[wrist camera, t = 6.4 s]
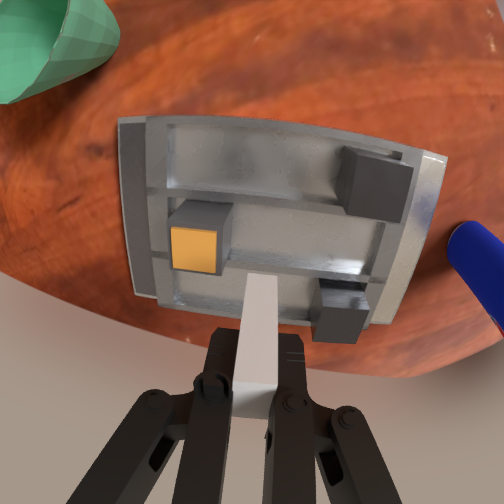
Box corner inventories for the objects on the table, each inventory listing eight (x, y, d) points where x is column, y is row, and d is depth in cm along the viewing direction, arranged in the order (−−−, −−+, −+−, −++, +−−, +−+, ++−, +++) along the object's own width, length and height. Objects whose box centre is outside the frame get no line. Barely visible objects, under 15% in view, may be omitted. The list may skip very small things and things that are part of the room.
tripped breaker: (185, 243, 23) (168, 271, 20) (184, 200, 22) (164, 222, 18) (230, 248, 23) (220, 279, 20) (232, 204, 21) (222, 228, 18)
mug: (156, -13, 14) (90, -57, 5) (138, 90, 19) (55, 93, 10) (36, 20, 14) (-34, 17, 5) (25, 104, 19) (-48, 123, 10)
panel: (140, 286, 28) (118, 320, 23) (126, 116, 20) (88, 123, 15) (386, 314, 27) (401, 353, 22) (439, 153, 19) (475, 170, 14)
